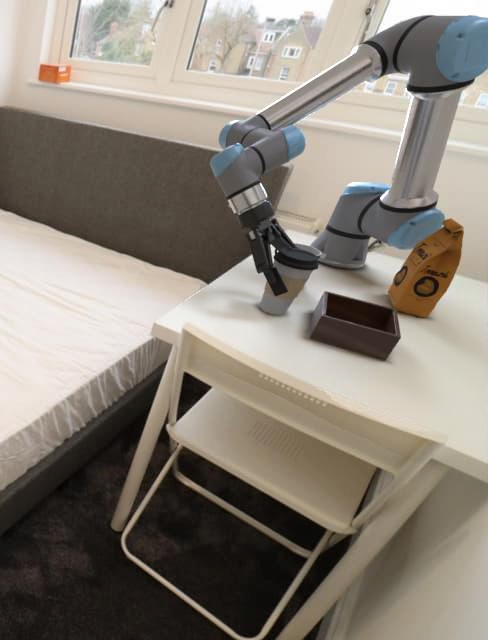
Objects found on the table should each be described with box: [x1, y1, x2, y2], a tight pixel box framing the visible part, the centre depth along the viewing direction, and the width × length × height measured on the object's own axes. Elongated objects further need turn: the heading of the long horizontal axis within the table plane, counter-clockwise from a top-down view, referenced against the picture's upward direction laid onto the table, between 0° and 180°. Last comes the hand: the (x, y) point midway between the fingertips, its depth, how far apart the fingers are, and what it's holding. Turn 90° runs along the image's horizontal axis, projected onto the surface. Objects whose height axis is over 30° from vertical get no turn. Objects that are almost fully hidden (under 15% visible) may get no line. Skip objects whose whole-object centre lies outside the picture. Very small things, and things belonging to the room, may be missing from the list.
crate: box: [309, 290, 402, 362], centre depth 116 cm, size 16×15×6 cm
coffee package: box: [386, 217, 465, 319], centre depth 126 cm, size 10×12×22 cm
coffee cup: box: [259, 248, 320, 316], centre depth 123 cm, size 9×9×15 cm
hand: (291, 286), depth 122 cm, fingers open, 13 cm apart
